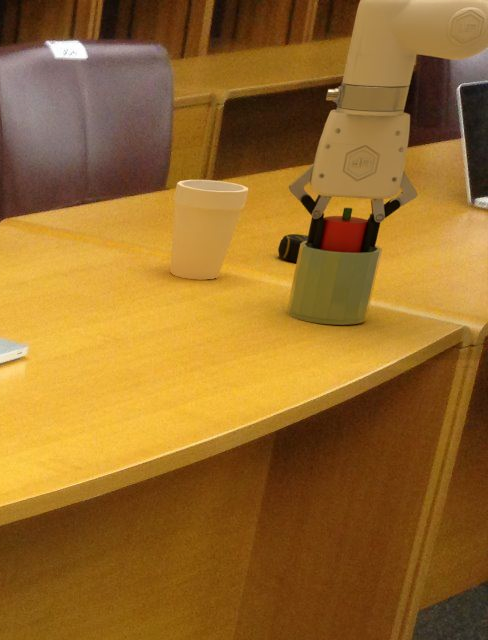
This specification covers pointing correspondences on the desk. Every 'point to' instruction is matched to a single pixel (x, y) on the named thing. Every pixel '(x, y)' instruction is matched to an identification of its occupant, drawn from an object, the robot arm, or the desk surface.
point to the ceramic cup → (333, 285)
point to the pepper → (343, 233)
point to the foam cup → (204, 226)
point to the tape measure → (291, 246)
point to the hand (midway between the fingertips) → (339, 249)
